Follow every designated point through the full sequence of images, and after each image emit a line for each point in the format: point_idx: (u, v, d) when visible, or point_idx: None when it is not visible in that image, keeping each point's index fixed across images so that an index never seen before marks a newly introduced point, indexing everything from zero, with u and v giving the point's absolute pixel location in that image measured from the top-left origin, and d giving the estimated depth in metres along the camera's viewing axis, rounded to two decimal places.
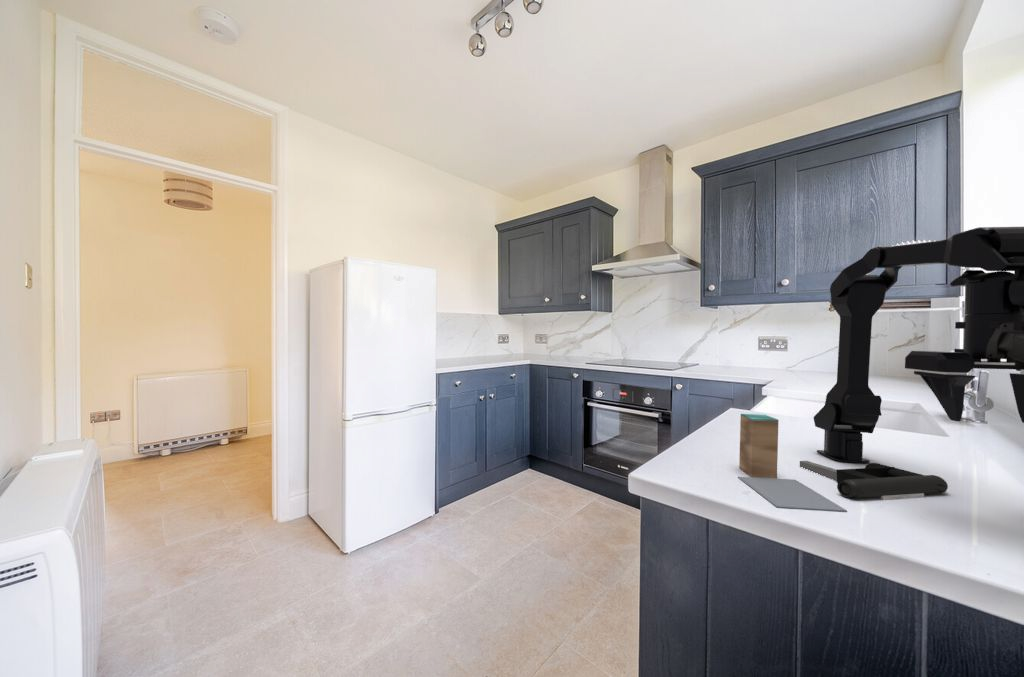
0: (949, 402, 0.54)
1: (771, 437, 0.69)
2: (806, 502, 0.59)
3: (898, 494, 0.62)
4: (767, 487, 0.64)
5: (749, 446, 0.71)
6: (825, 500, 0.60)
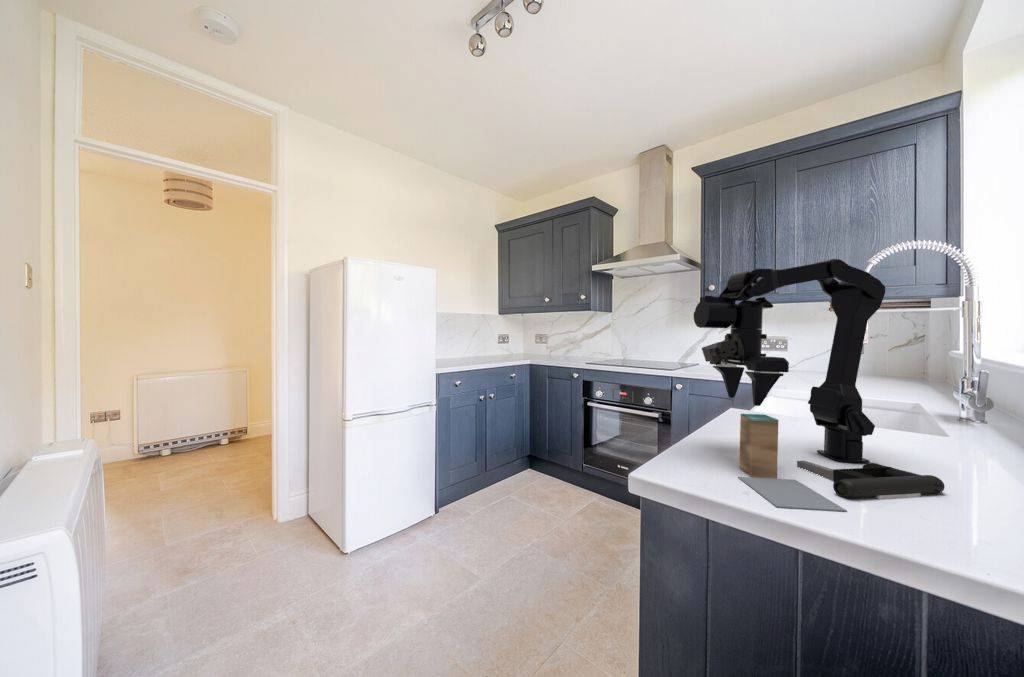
0: None
1: (771, 437, 0.69)
2: (806, 502, 0.59)
3: (894, 494, 0.62)
4: (767, 487, 0.64)
5: (749, 446, 0.71)
6: (825, 500, 0.60)
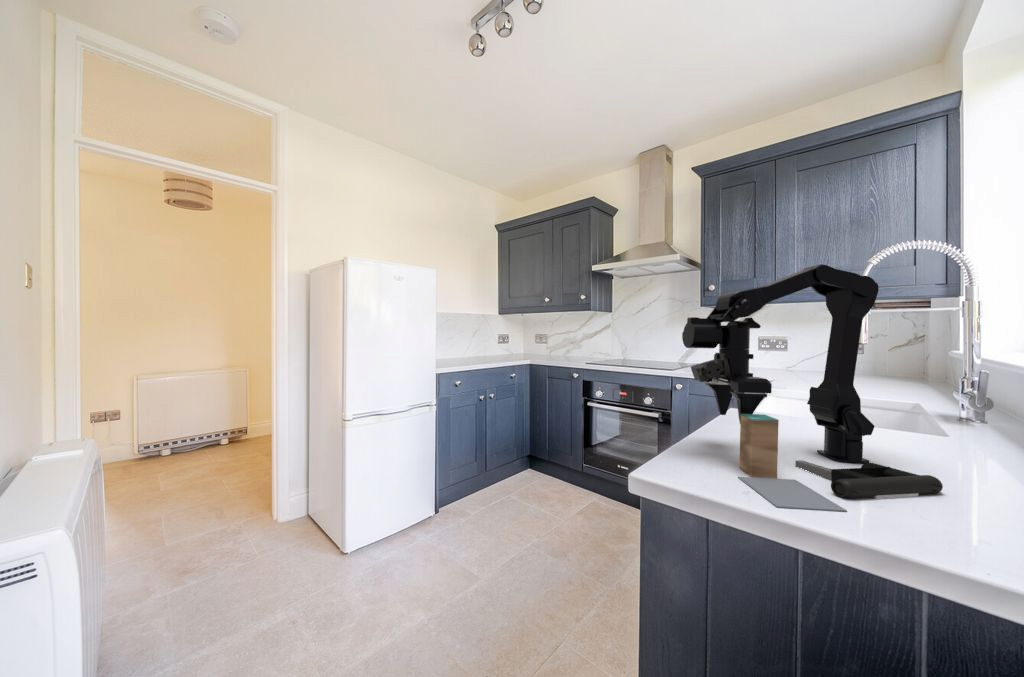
0: None
1: (771, 437, 0.69)
2: (806, 502, 0.59)
3: (892, 494, 0.62)
4: (767, 487, 0.64)
5: (749, 446, 0.71)
6: (825, 500, 0.60)
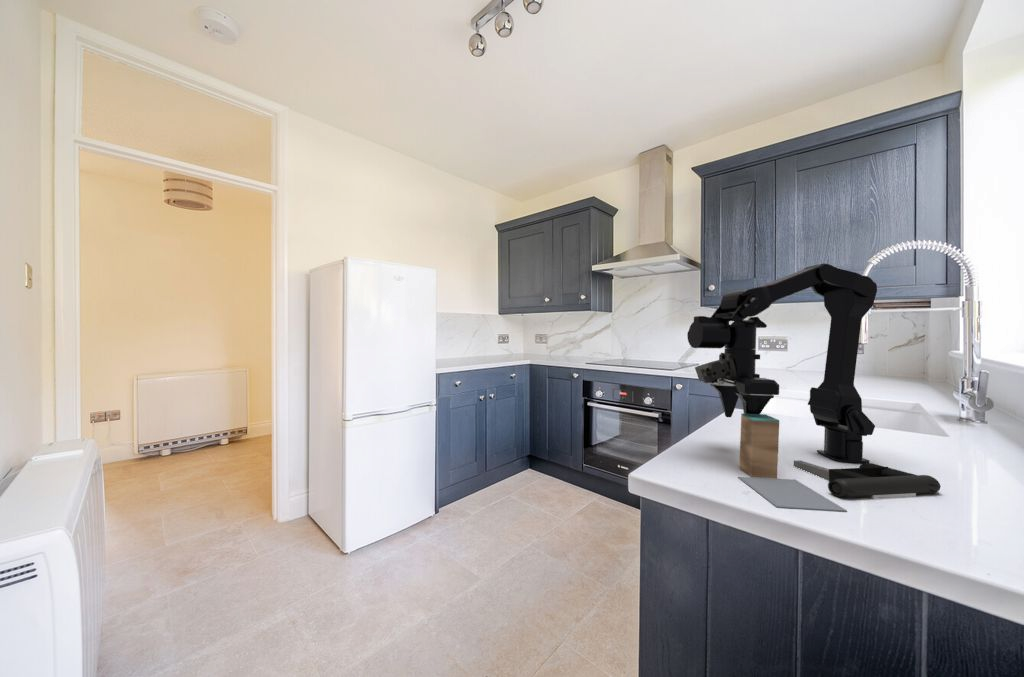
0: None
1: (772, 437, 0.69)
2: (806, 502, 0.59)
3: (889, 494, 0.62)
4: (767, 487, 0.64)
5: (749, 446, 0.71)
6: (825, 500, 0.60)
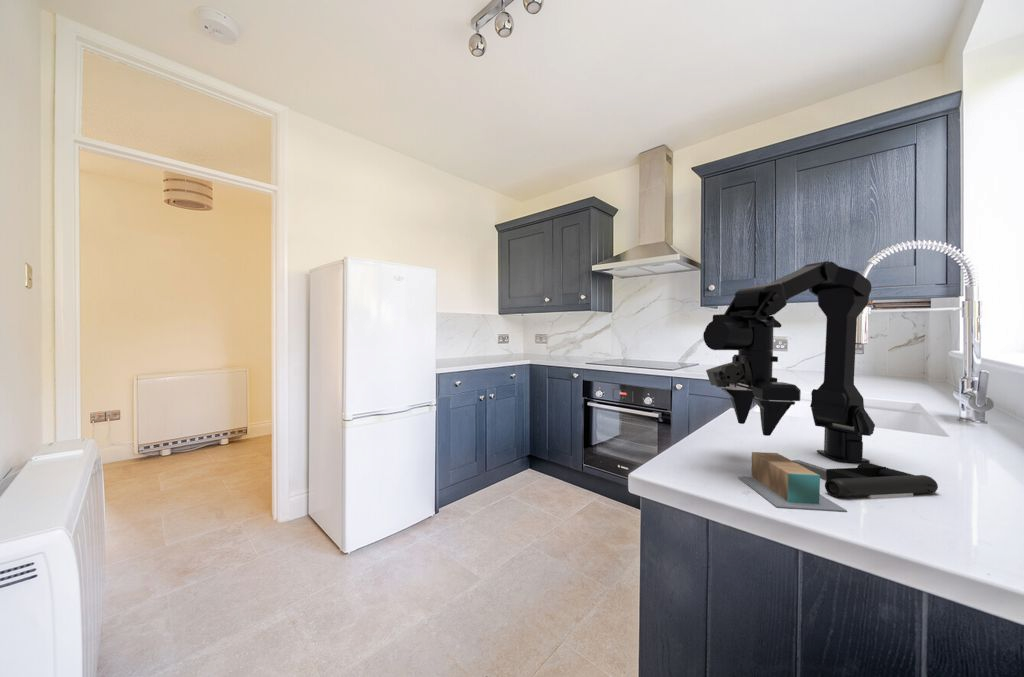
0: None
1: None
2: None
3: (886, 494, 0.62)
4: (767, 487, 0.64)
5: (768, 481, 0.64)
6: (825, 500, 0.60)
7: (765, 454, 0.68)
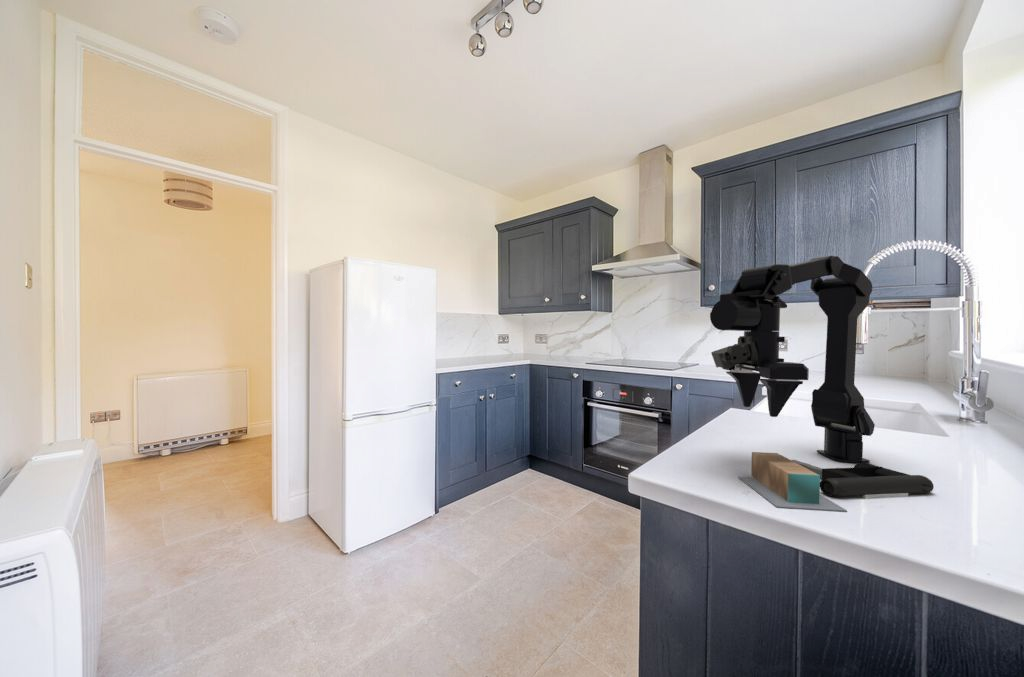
0: None
1: None
2: None
3: (881, 493, 0.62)
4: (767, 487, 0.64)
5: (768, 481, 0.64)
6: (825, 500, 0.60)
7: (765, 454, 0.68)
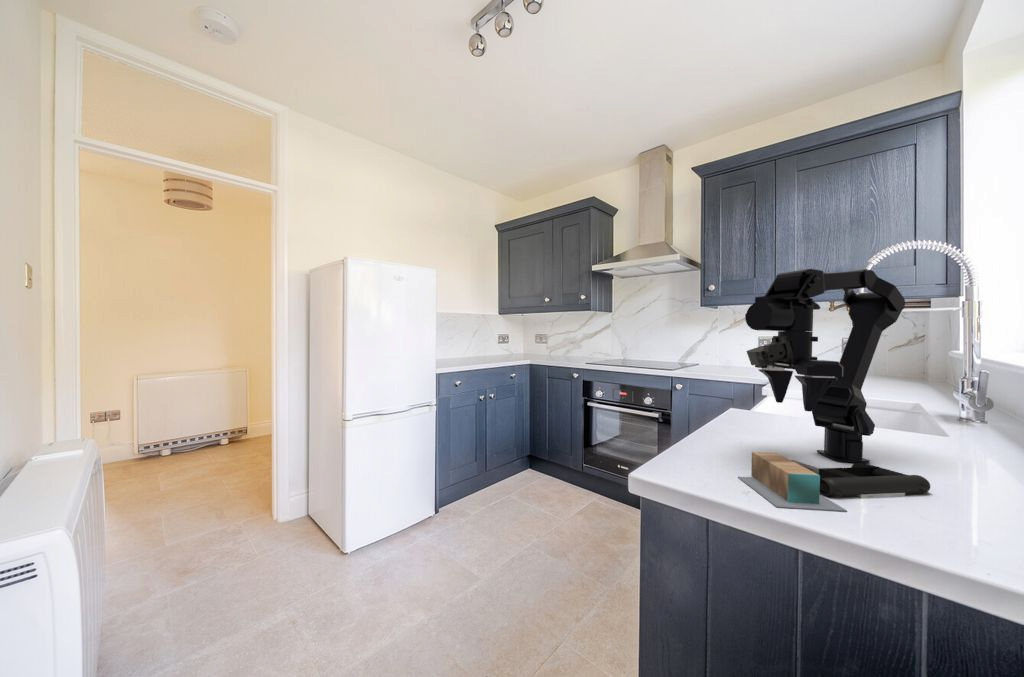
0: None
1: None
2: None
3: (878, 493, 0.62)
4: (767, 487, 0.64)
5: (768, 481, 0.64)
6: (825, 500, 0.60)
7: (765, 454, 0.68)
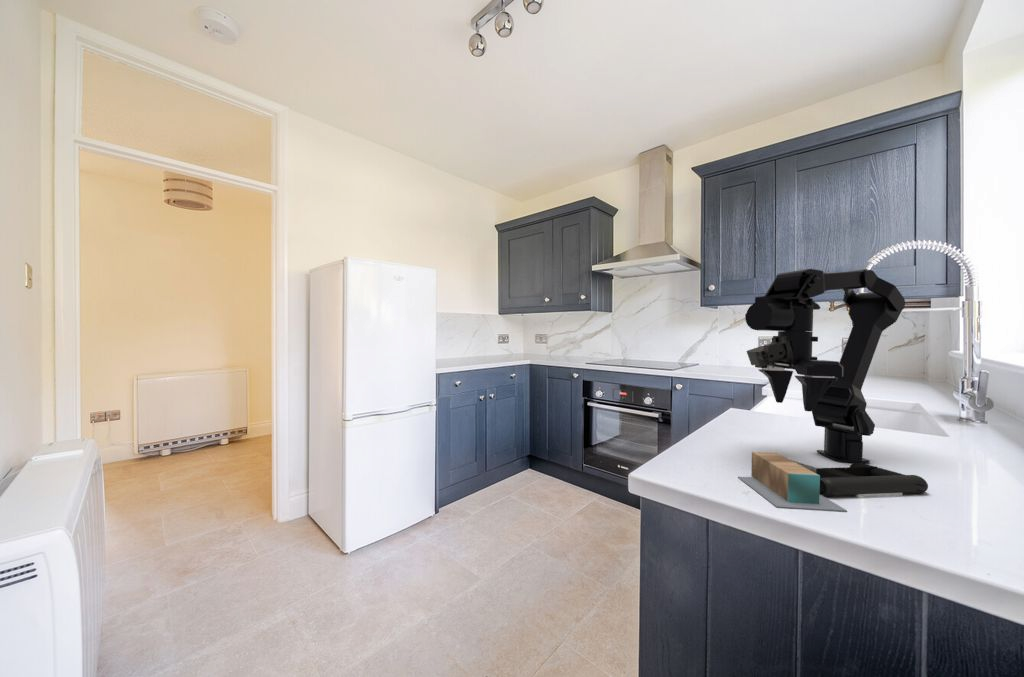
0: None
1: None
2: None
3: (875, 493, 0.62)
4: (767, 487, 0.64)
5: (768, 481, 0.64)
6: (825, 500, 0.60)
7: (765, 454, 0.68)
